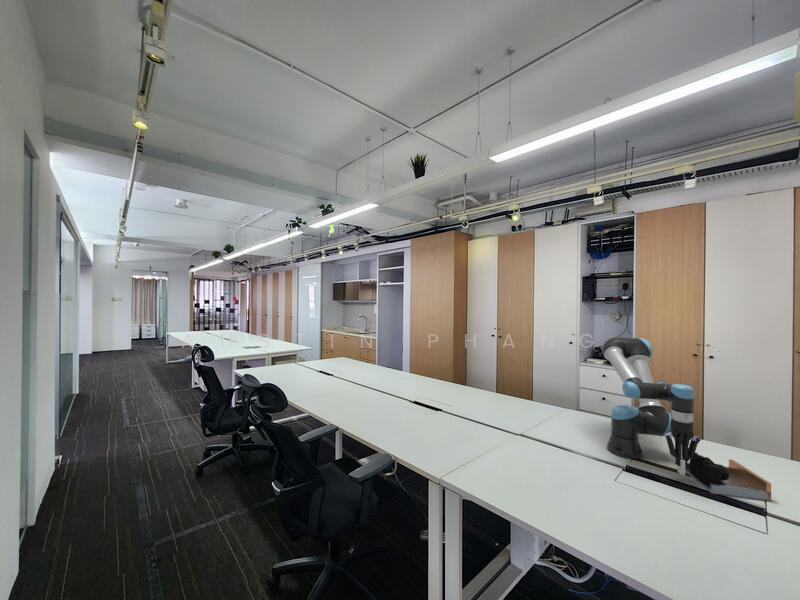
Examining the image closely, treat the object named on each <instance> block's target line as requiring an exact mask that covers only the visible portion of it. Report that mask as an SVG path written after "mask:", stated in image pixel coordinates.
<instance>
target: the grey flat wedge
mask: <svg viewBox="0 0 800 600" xmlns="http://www.w3.org/2000/svg"><path fill="white" fill-rule="evenodd" d="M723 466H724V465H723ZM724 467H725V468H726V469H727V471H728V473H729V478H728V480H724V481H722V480H721V485H719V484H711V483H710V487H709V486H708V485H706V484H705V483H704V482H702V481H701V480H700V479H698V478H697V477H695V476H694V475H692V474H691V473H690V461H687V467H685V474H687V475H689V476H690V477H691V478H692V479H694V480H695V481H696V482H697V483H699V484H700V485H701V486H702V487H704V488H705V489H706V490H707V491H708V492H710V493H711V494H712V495H720V496H729V497H736V498H745V499H750V498H754V499H753V500H758V499H761V500H760V501H767V502H768V501H769V502H772V483H771V482H770V481H768V480H766V479H765V478H763V477H762V476H760V475H758V474H756V473H755V472H753V471H752V470H750V469H749V468H747V467H745V466H743V465H742V464H740V463H739V462H737V461H736V460H734V459H730V458H729V459H728V466H724Z"/></svg>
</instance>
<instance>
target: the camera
mask: <svg viewBox="0 0 800 600" xmlns="http://www.w3.org/2000/svg"><path fill="white" fill-rule="evenodd" d="M689 463H690V473H691V474H692V475H694V476H695V477H697V478H698V479H700V480H701V481H702V482H704V483H705V484H706V485H708V486H709V487H710V483H711V484H719V485H721V480H722V481H724V480H728V478H729V473H728V471H727V469H726V468H725V467H726V466H725V467H724V465H723V464H718V463H715V462H714V461H713V460H712V459H710V458H709V457H708V456H707V457H705V456H703V455H702V454H699V453H698V452H696V451H695V454H694V457H693V459H689Z"/></svg>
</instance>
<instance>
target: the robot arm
mask: <svg viewBox="0 0 800 600" xmlns="http://www.w3.org/2000/svg"><path fill="white" fill-rule="evenodd" d="M601 352H602V355H603V357H604V358H605V359H606V360H607V361H608V362H610V364H611V366H612V367H613V369H614V370H615V373H616V374H617V375H618V376H619V378H620V380H621V381H622V386H621V387H622V391H623V394H624V396H625V397H627V398H630V399H631V398H632V399H638V401H639V406H638V407H636V406H633V405H627V404H624V405H622V404H621V405H620V404H619V405H616V406H614V407H612V408H611V415H610V416H611V420H610V421H611V427H610V428H611V429H610V432H611V434H610V436H609V439H608V442H607V443H606V444H607V445H606V449H607V451H608V452H609V453H611V454H614V455H616V456H619V457H620V458H621V457H622V458H625V459H631V460H639V459H640V460H641V459H642V458H643V456H644V453H643V449H642V446H641V444H640V441H639V436H640V435H648V436H655V437H656V436H658V437H664V438H665V439H666V443H667V447H668V450H669V454H670V455H671V456H672V457H673V458H675V459H674V461H675V465H676V466H677V473H678V474H680V475H681V476H685V475H686V472H685V467H687V462H690V459H693V457H694V454H695V452H696V450H697V447H698V444H699V443H700V441H701V439H700V438H699V437H698V436H697V435H695V434H694V423H693V422H694V409H695V408H694V407H695V406H694V405H695V394H694V388H693V387H692V386H690V385H686V384H682V383H681V384H680V383H673V384H671V383H668V382H664V381H661V382H657V383H655V382H654V380H653V375H652V373H651V369H650V366H649V361H650V359H651V358H652V356H653V348H652V344H651V343H650V341H648V340H647V339H645V338H643V337H642V338H640V337H618V336H616V337H611V338H608V339H607V340H606V341H605V342H604V343H603V345H602V347H601ZM661 401H667V402H669V403H670V412H668V411H667V410H666V407H665V406H663V404H661V403H660V402H661ZM673 439H674V440H673Z"/></svg>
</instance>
